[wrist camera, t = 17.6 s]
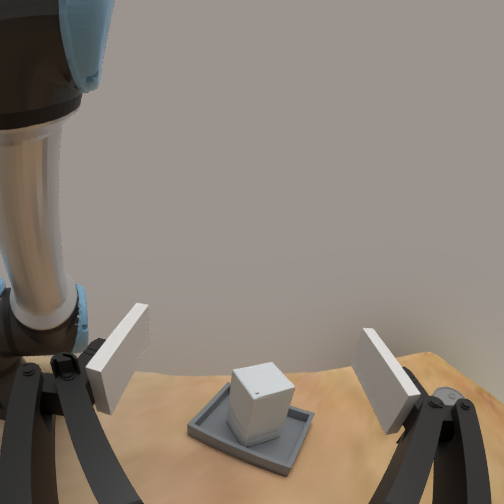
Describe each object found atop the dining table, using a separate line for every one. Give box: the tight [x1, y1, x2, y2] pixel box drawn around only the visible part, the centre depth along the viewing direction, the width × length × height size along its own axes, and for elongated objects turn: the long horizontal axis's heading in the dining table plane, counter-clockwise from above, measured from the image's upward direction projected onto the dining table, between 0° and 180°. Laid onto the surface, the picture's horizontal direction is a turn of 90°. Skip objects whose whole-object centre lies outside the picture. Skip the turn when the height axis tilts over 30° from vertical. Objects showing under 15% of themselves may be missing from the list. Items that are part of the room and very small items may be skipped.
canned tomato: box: [432, 387, 465, 405], centre depth 38 cm, size 8×8×11 cm
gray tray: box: [187, 383, 315, 477], centre depth 42 cm, size 18×14×3 cm
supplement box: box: [226, 362, 295, 447], centre depth 41 cm, size 7×7×13 cm
